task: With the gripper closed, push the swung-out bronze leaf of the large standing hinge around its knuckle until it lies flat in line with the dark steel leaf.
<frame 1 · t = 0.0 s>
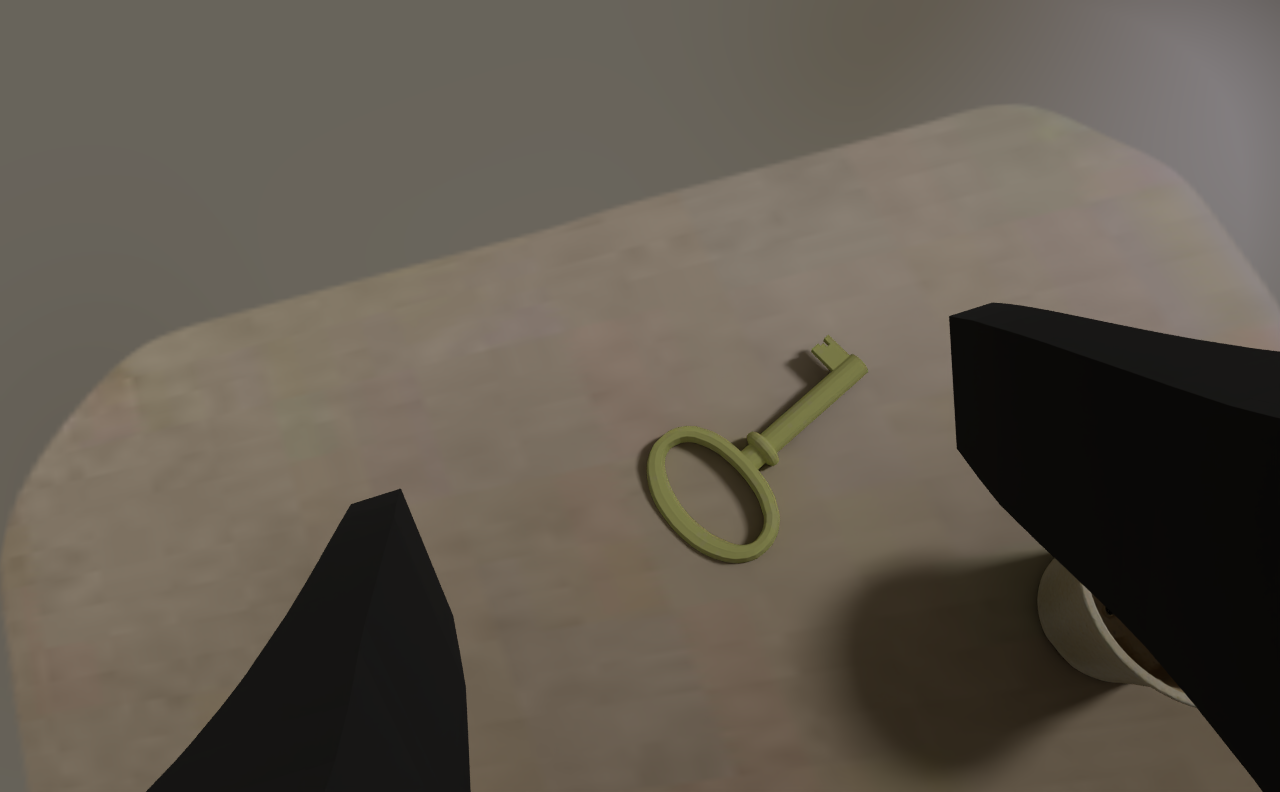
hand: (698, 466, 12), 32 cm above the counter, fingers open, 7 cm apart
flower pot: (1100, 613, 43), on the counter
key: (758, 455, 46), on the counter
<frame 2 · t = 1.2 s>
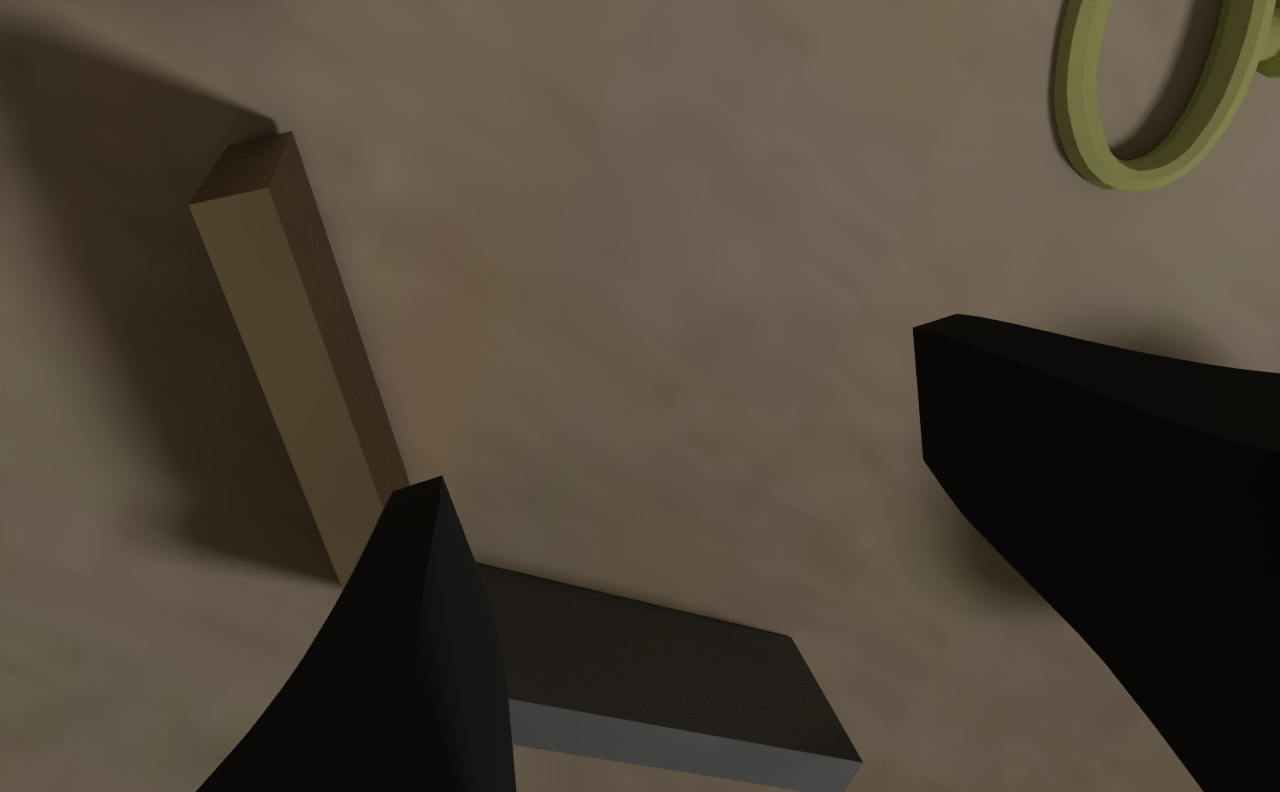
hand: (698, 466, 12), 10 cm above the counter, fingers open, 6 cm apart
hinge fixed leaf: (414, 569, 24), on the counter
hinge leaf: (351, 453, 19), point 3 cm above the counter, hinge at -55.0°
key: (1245, 26, 24), on the counter
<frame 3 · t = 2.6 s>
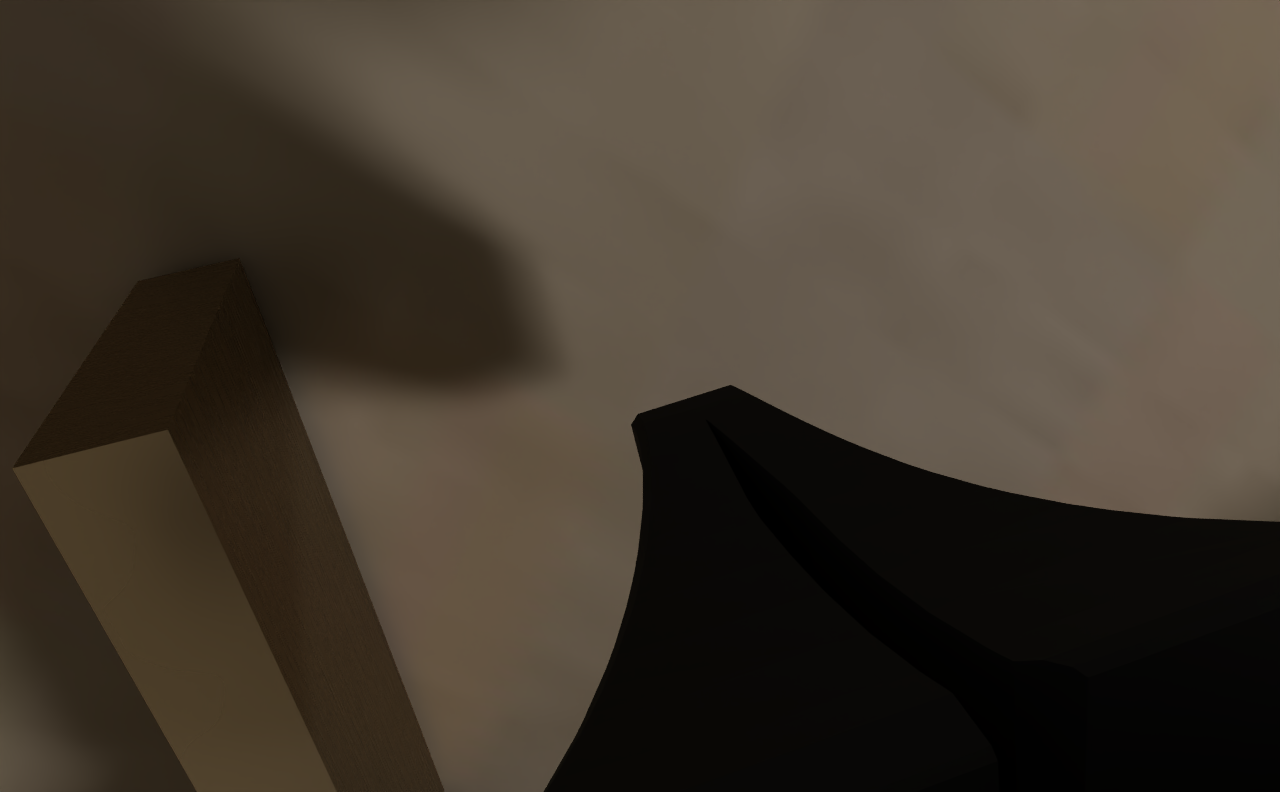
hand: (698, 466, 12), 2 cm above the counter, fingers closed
hinge leaf: (335, 751, 12), point 3 cm above the counter, hinge at -55.0°
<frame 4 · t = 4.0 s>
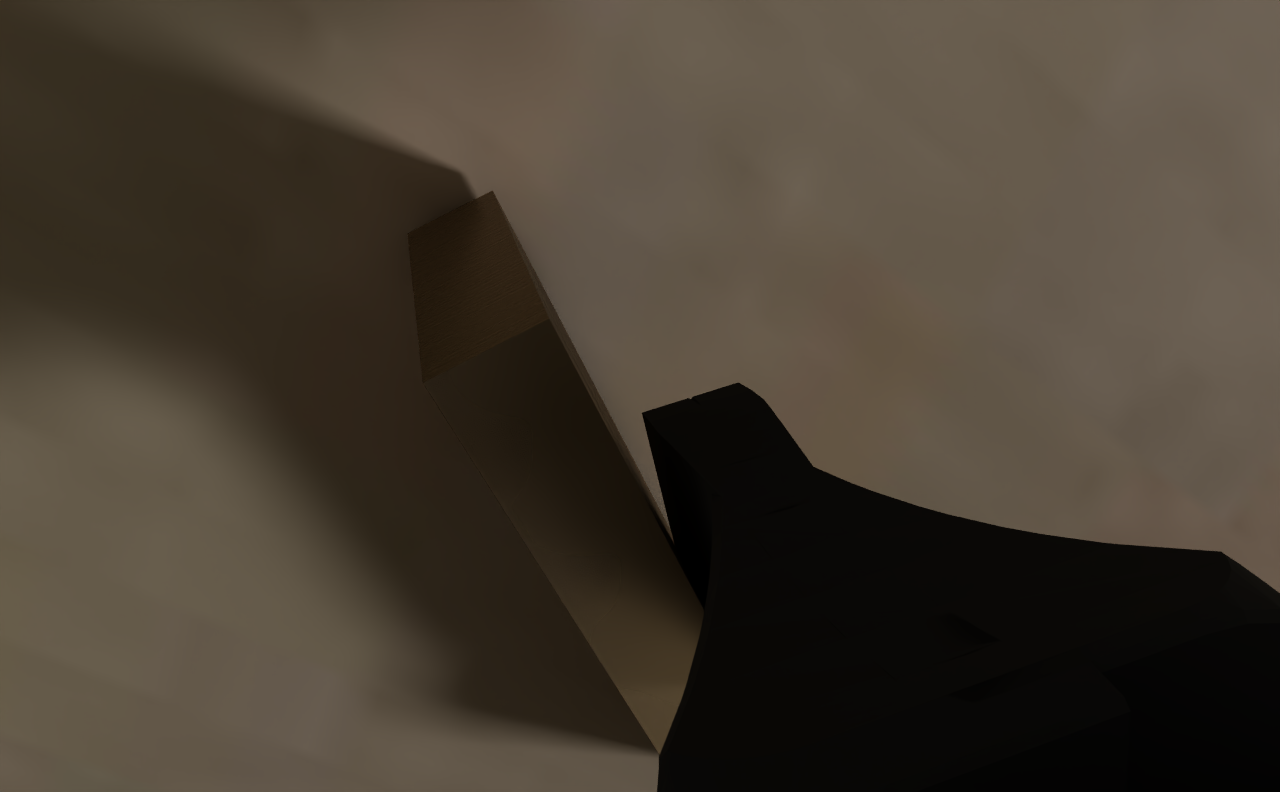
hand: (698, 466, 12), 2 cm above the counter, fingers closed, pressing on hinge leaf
hinge leaf: (674, 639, 13), point 3 cm above the counter, hinge at -41.2°, touching gripper
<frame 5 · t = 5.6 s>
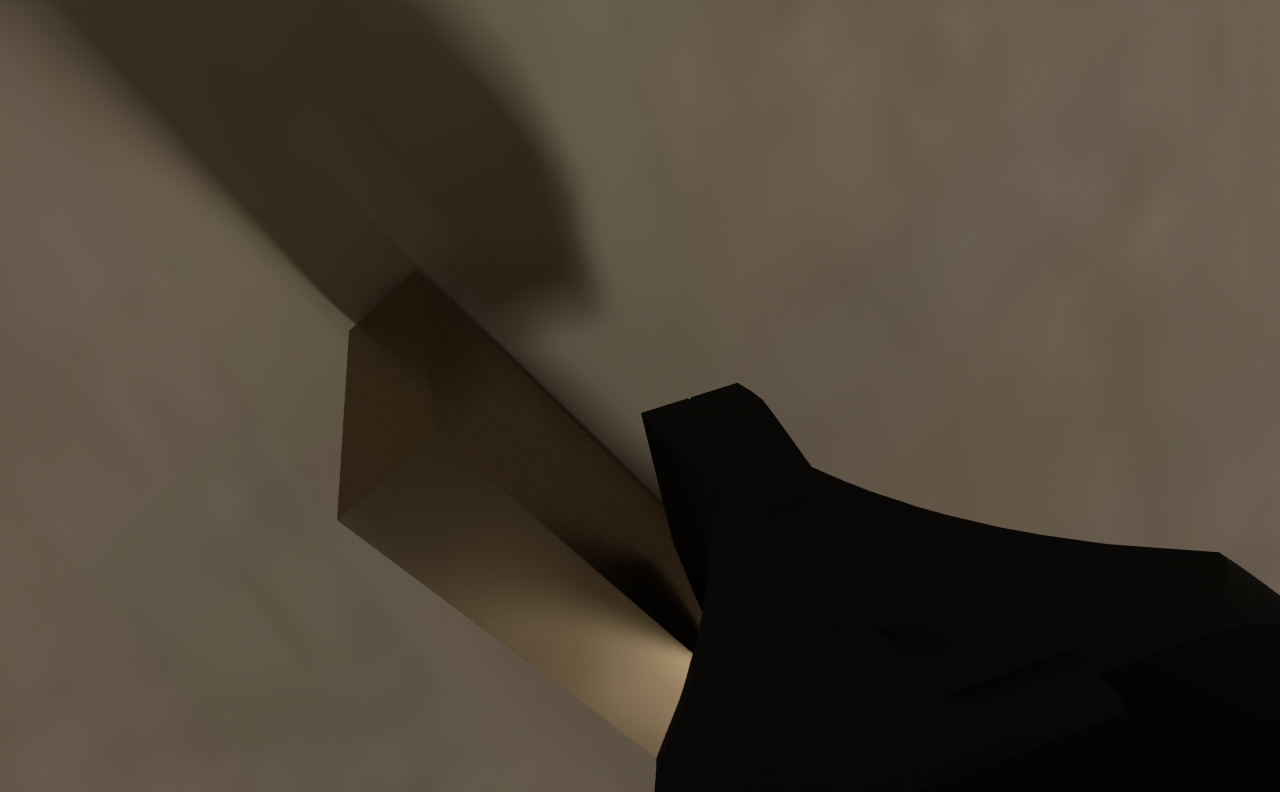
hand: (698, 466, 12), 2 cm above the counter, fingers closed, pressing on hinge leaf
hinge leaf: (702, 649, 13), point 3 cm above the counter, hinge at 2.1°, touching gripper
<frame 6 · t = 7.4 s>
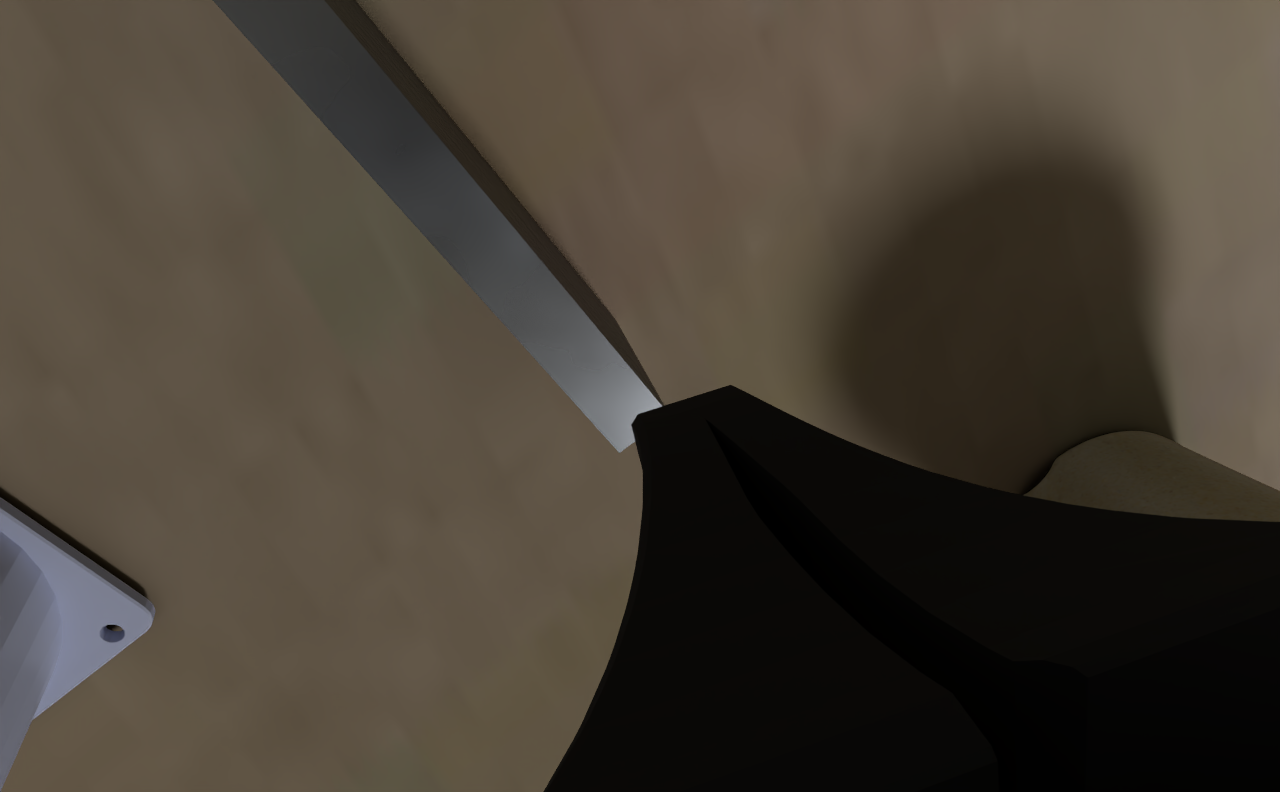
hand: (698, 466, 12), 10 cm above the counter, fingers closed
flower pot: (1087, 512, 29), on the counter
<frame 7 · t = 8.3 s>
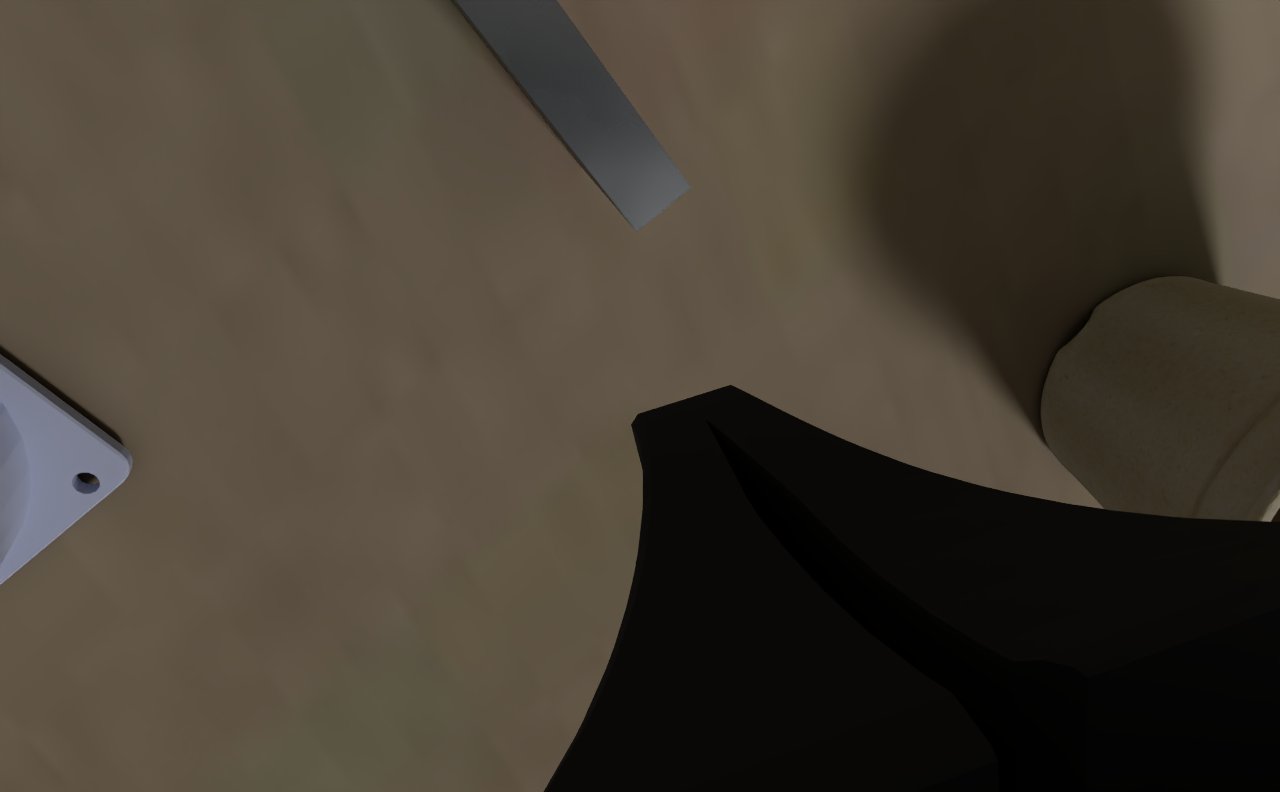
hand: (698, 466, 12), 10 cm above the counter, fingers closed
flower pot: (1127, 372, 27), on the counter
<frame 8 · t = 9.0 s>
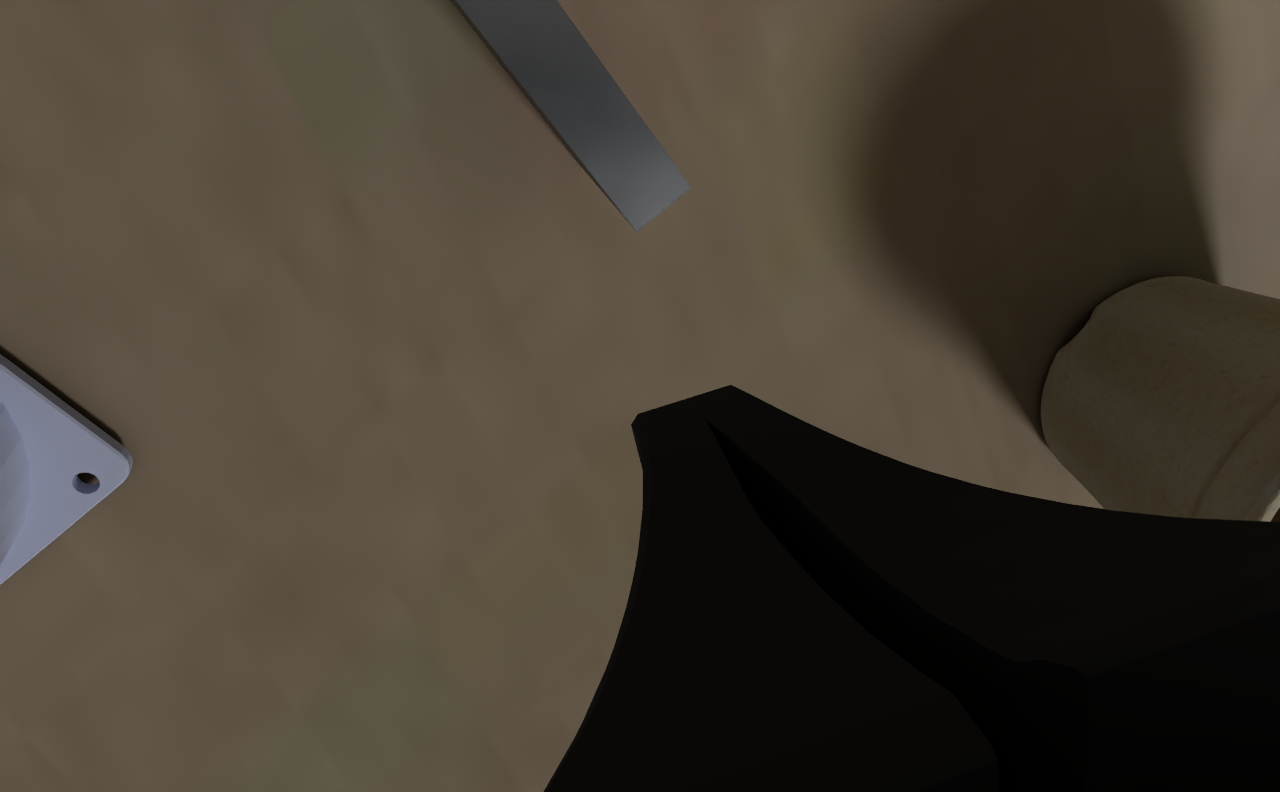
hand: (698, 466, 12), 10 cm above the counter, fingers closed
flower pot: (1127, 372, 27), on the counter
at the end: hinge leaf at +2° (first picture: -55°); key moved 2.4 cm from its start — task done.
